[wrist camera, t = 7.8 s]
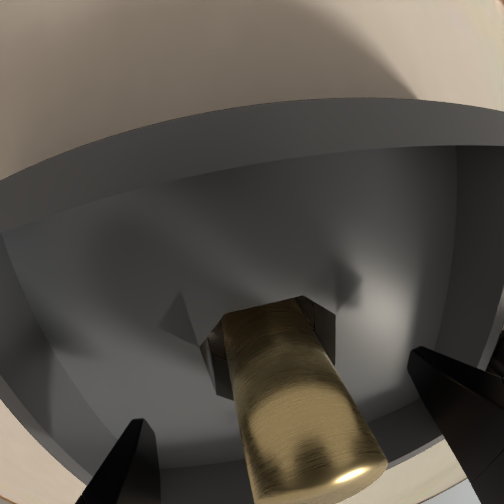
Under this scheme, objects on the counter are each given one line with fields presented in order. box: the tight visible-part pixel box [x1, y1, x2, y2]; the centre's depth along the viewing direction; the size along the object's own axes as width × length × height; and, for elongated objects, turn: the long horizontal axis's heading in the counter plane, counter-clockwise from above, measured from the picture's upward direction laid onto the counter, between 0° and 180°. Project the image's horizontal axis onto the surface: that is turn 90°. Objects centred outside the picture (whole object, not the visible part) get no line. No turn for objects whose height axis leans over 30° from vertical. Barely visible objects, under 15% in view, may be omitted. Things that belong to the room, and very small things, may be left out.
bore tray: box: [0, 98, 504, 504], centre depth 10 cm, size 18×16×6 cm
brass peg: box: [222, 298, 388, 504], centre depth 9 cm, size 3×3×8 cm
